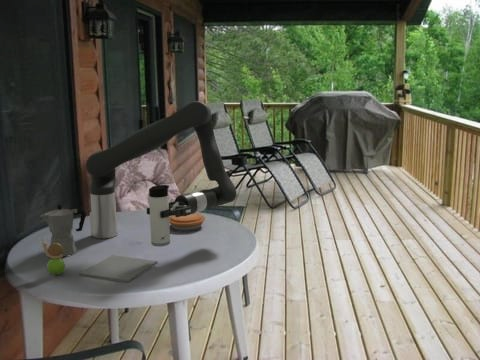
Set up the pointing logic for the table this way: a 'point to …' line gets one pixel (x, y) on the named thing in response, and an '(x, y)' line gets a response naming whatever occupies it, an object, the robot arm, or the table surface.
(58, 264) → the snail figurine
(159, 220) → the travel mug
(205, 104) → the robot arm
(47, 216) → the coffeepot
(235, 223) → the table surface
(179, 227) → the pie
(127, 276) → the mat
